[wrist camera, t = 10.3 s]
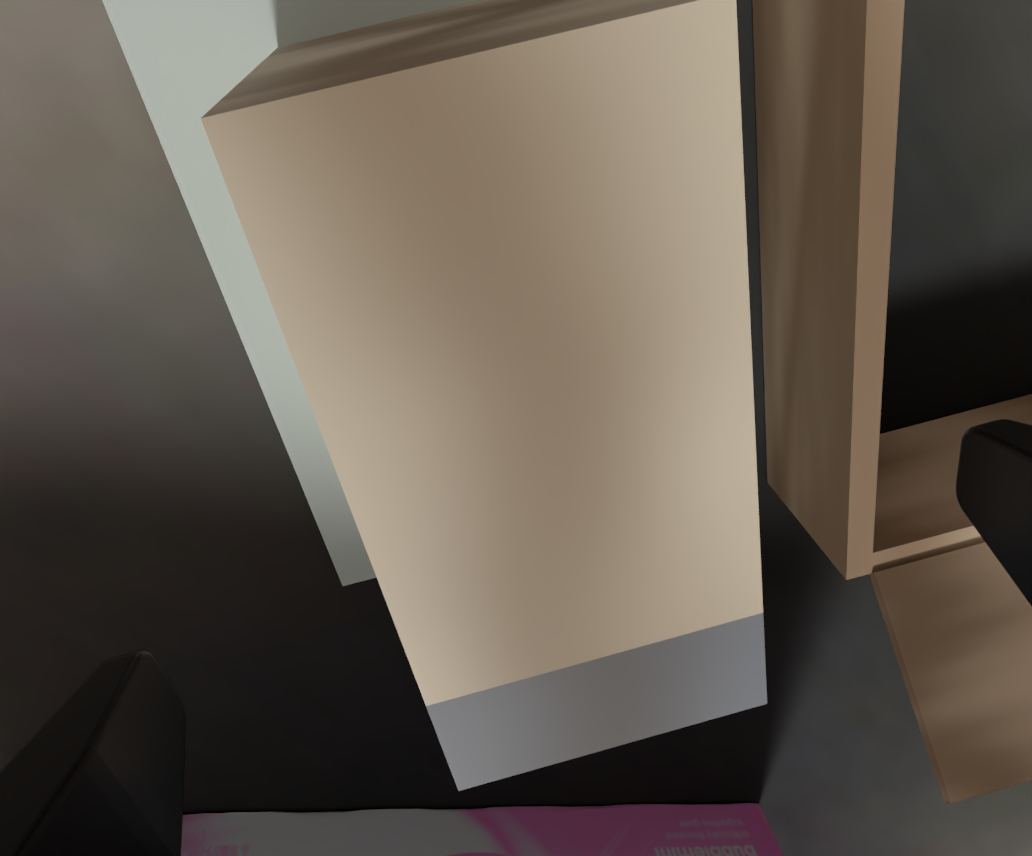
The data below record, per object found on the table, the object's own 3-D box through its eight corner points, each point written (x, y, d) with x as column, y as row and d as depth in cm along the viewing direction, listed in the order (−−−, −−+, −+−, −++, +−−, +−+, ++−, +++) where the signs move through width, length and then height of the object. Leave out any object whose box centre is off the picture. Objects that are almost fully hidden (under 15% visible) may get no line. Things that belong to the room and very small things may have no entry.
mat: (667, -180, 14) (675, -184, 13) (716, 477, 21) (721, 485, 20) (87, -53, 13) (80, -53, 13) (343, 576, 20) (342, 586, 20)
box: (553, -17, 14) (735, -9, 7) (622, 444, 19) (767, 703, 12) (278, 47, 14) (200, 117, 7) (421, 497, 19) (458, 791, 12)
